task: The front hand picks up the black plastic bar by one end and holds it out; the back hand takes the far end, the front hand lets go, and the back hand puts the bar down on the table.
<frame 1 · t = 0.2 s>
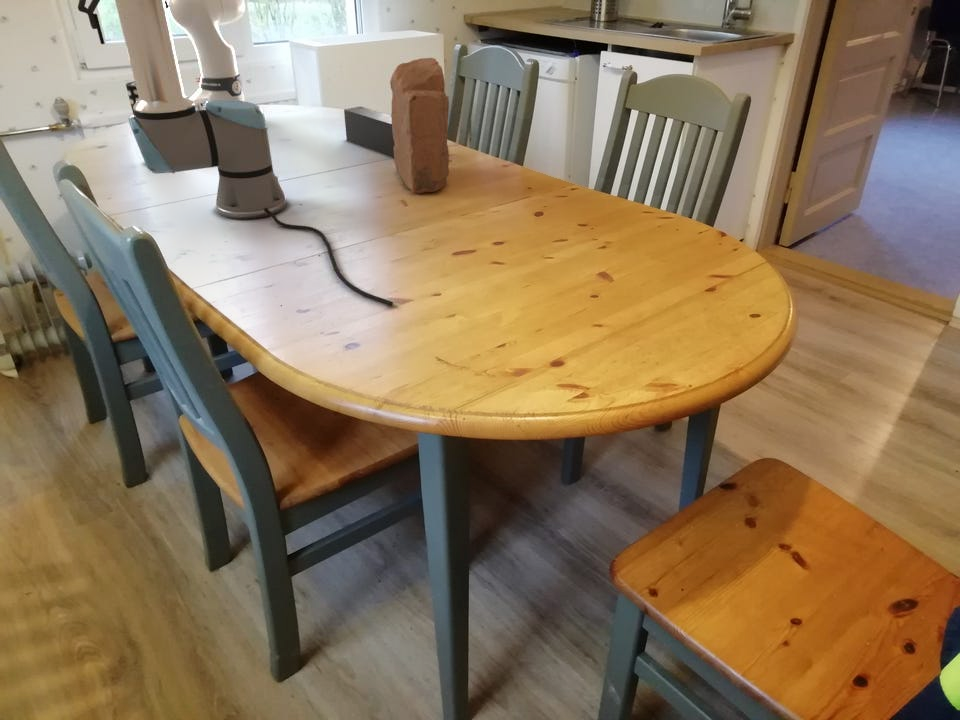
front hand: (132, 42, 173), 30 cm above the table, tool pointing down, fingers open, 13 cm apart
bar: (382, 148, 200), on the table
stone: (422, 180, 176), on the table
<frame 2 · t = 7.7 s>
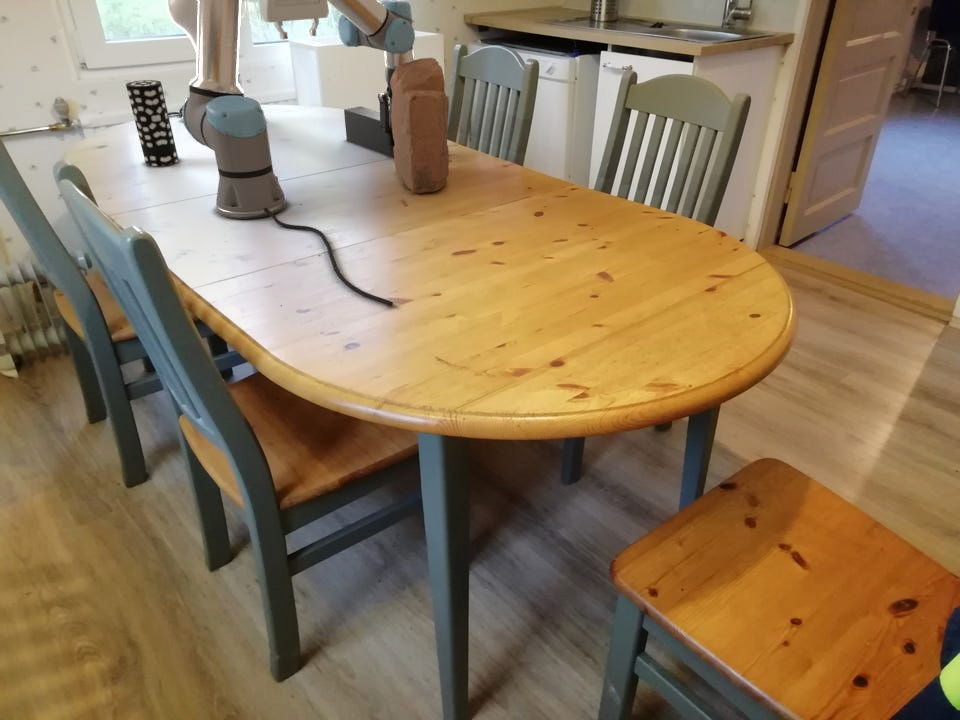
front hand: (403, 154, 193), 0 cm above the table, tool pointing down, fingers closed on bar, 6 cm apart
back hand: (298, 37, 198), 27 cm above the table, tool pointing down, fingers open, 8 cm apart
bar: (382, 148, 200), on the table, touching front hand
everything else where it was.
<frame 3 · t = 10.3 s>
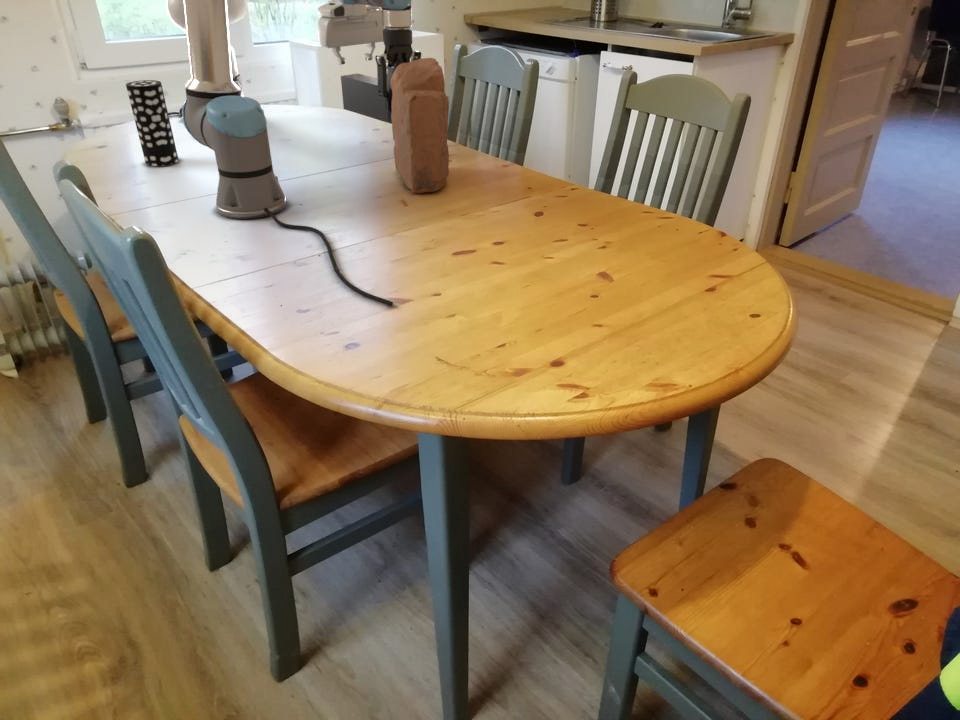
front hand: (401, 120, 188), 10 cm above the table, tool pointing down, fingers closed on bar, 6 cm apart
back hand: (355, 62, 194), 22 cm above the table, tool pointing down, fingers open, 8 cm apart
bar: (379, 116, 195), point 9 cm above the table, touching front hand
everything else where it was.
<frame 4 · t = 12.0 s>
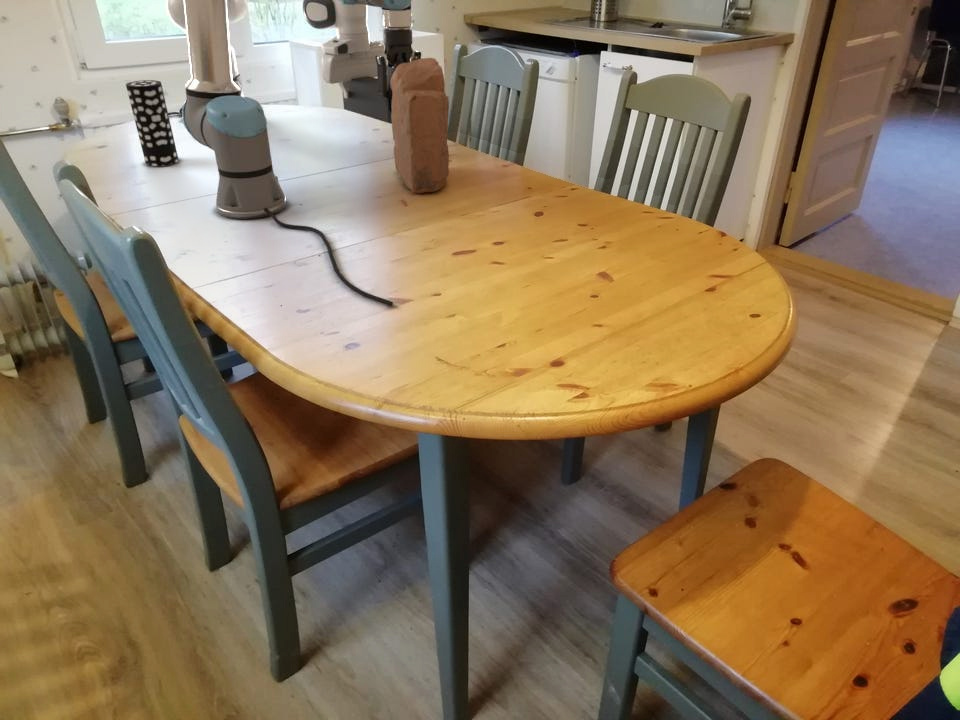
front hand: (401, 120, 188), 10 cm above the table, tool pointing down, fingers closed on bar, 6 cm apart
back hand: (357, 96, 199), 13 cm above the table, tool pointing down, fingers closed on bar, 6 cm apart
bar: (379, 116, 195), point 9 cm above the table, touching front hand, back hand
everything else where it was.
when the front hand's fingers open (10 cm above the table, at t = 12.9 s): bar stays where it is, held by the back hand.
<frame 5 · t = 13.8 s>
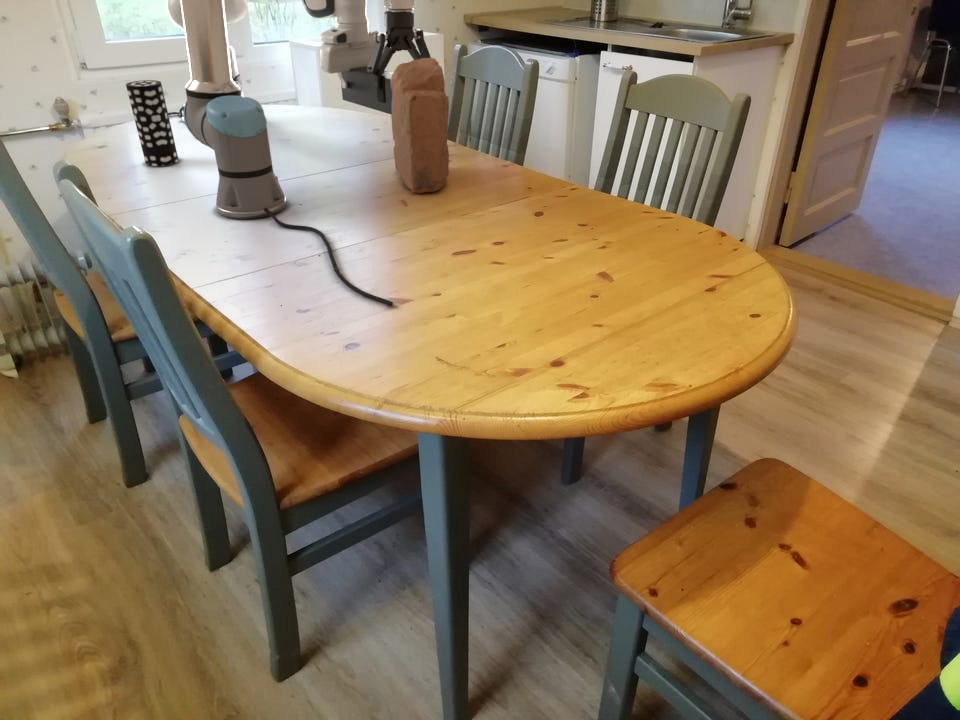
front hand: (402, 98, 184), 16 cm above the table, tool pointing down, fingers open, 13 cm apart
back hand: (356, 86, 197), 16 cm above the table, tool pointing down, fingers closed on bar, 6 cm apart
bar: (378, 106, 193), point 12 cm above the table, touching back hand
everything else where it was.
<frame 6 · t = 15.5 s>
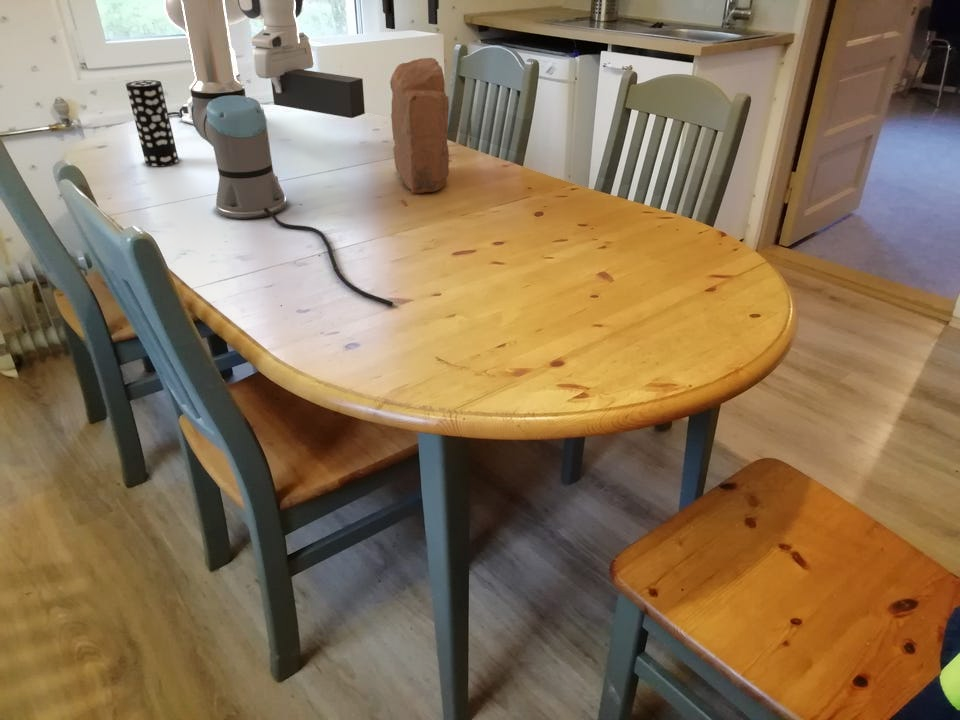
front hand: (412, 26, 172), 34 cm above the table, tool pointing down, fingers open, 13 cm apart
back hand: (288, 90, 193), 15 cm above the table, tool pointing down, fingers closed on bar, 6 cm apart
bar: (318, 109, 192), point 11 cm above the table, touching back hand
everything else where it was.
when the back hand's fingers open (5 cm above the table, at t = 19.5 s): bar stays where it is, on the table.
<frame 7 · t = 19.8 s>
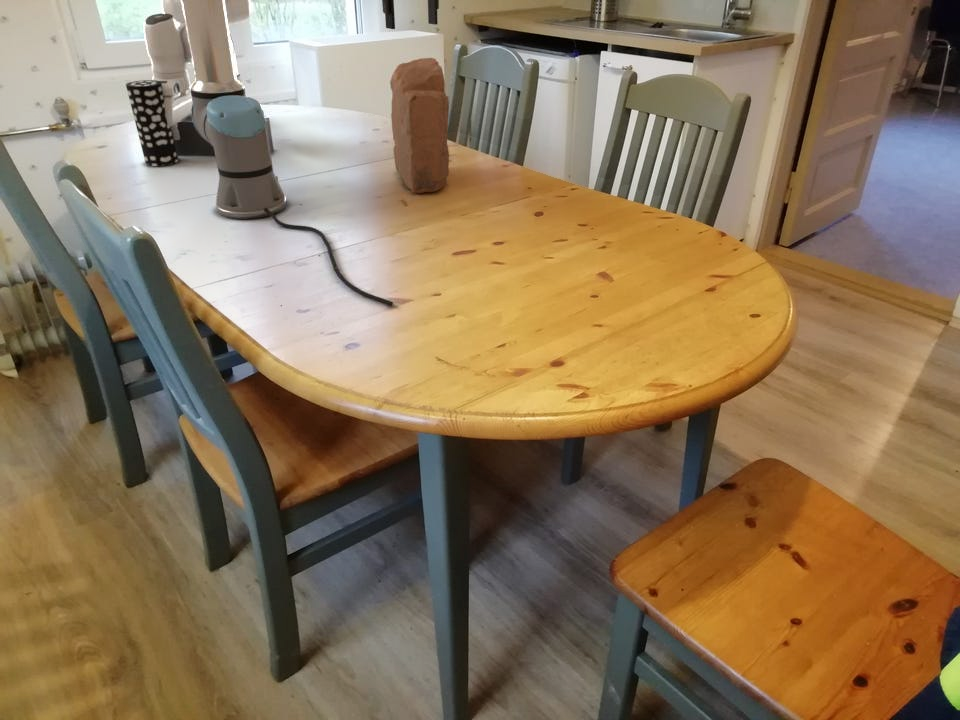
front hand: (412, 26, 172), 34 cm above the table, tool pointing down, fingers open, 13 cm apart
back hand: (184, 134, 192), 5 cm above the table, tool pointing down, fingers open, 8 cm apart
bar: (223, 153, 194), on the table
everything else where it was.
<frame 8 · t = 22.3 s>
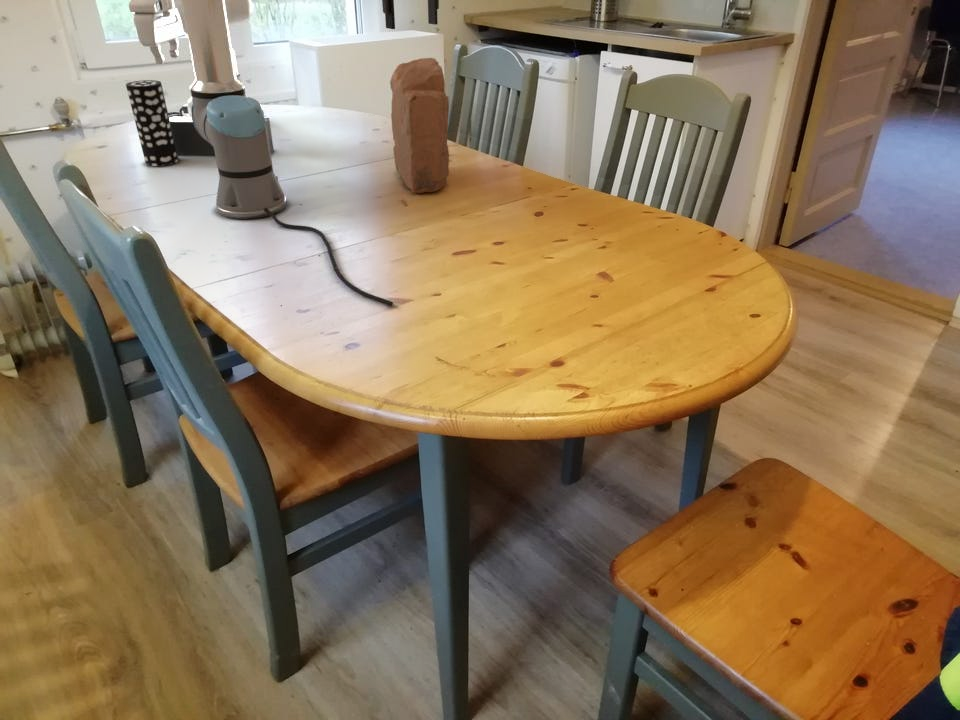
front hand: (412, 26, 172), 34 cm above the table, tool pointing down, fingers open, 13 cm apart
back hand: (168, 60, 181), 24 cm above the table, tool pointing down, fingers open, 8 cm apart
nothing on the table moved.
at the end: bar inside the target area (10.0 cm from its centre), on the table; the front hand is holding nothing; the back hand is holding nothing; bar at rest at the end (0.0 cm/s) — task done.
